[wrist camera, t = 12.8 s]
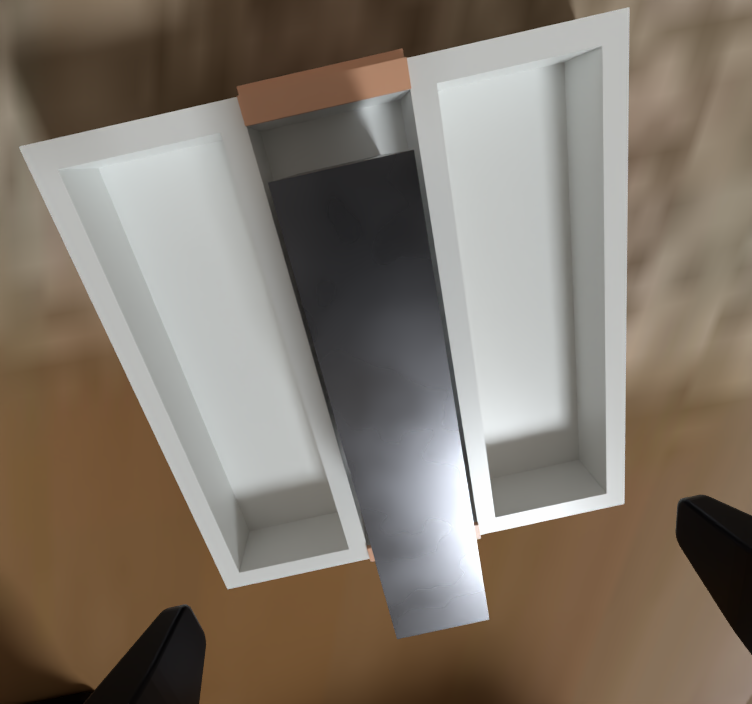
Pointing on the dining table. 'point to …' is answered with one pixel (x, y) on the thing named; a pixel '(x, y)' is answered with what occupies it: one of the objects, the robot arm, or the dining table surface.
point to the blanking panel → (387, 379)
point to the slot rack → (450, 266)
